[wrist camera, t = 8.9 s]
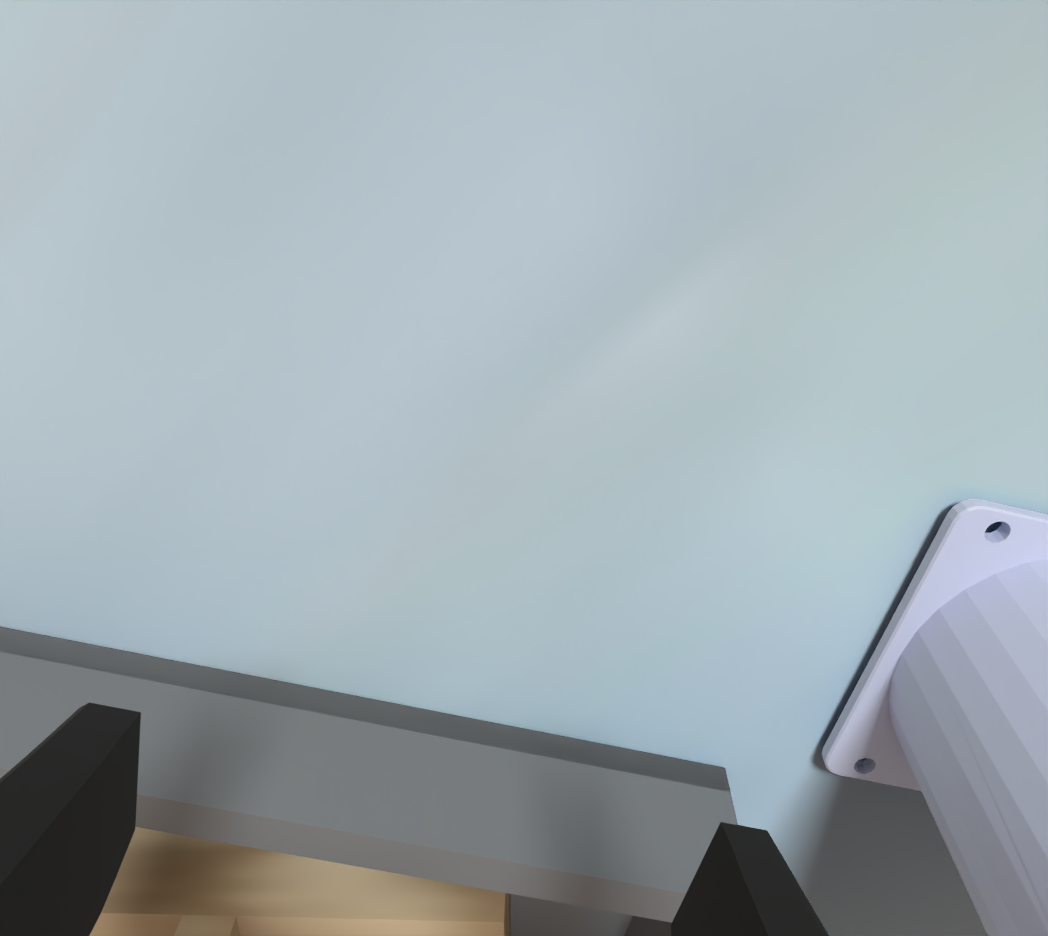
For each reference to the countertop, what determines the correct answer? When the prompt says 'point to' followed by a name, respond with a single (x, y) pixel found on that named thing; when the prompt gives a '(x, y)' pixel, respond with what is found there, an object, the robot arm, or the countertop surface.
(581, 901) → the charcoal crate
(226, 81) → the countertop surface
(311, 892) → the pine crate
